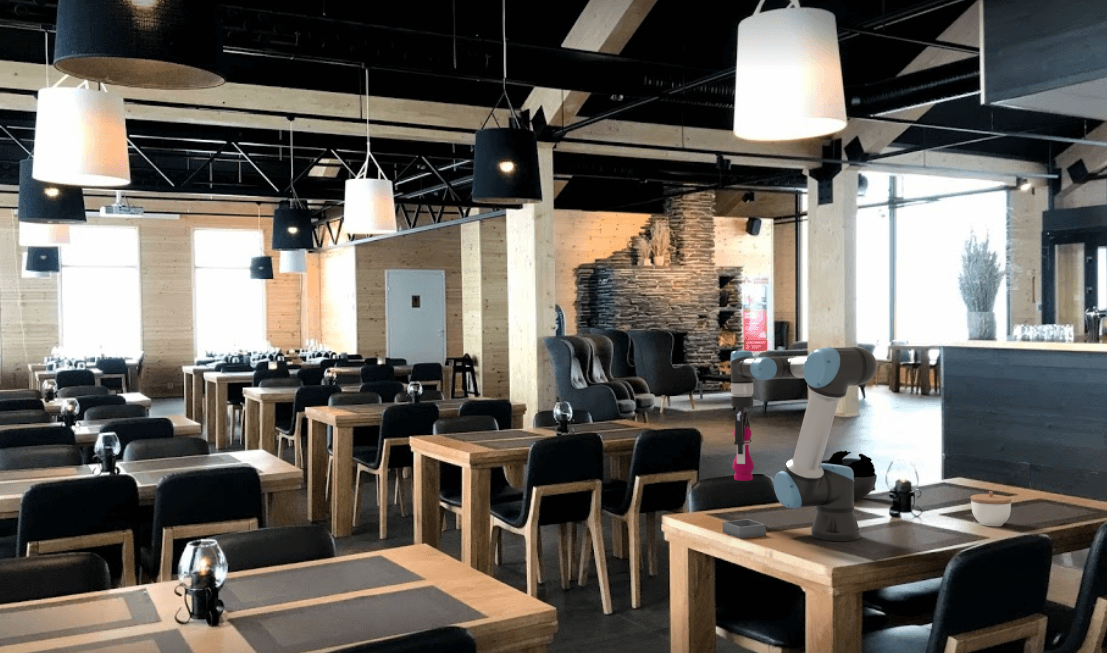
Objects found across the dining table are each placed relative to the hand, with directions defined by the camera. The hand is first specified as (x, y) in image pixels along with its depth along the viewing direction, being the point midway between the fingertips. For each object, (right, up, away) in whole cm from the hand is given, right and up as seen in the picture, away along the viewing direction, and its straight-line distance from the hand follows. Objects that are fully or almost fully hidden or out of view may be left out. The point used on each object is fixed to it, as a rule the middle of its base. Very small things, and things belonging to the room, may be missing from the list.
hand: (743, 462), depth 345 cm
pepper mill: (0, -6, 0) cm, 6 cm away
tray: (-3, -21, -19) cm, 28 cm away
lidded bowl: (+82, -20, -8) cm, 85 cm away
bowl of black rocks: (+49, -20, +40) cm, 66 cm away
